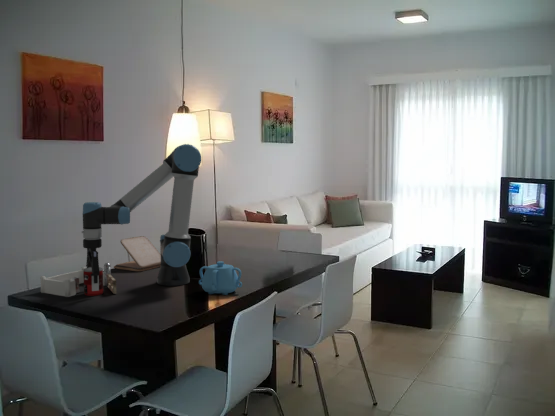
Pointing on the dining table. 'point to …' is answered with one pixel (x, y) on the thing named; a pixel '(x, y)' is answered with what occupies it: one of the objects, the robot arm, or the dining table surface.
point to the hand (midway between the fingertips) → (92, 287)
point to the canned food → (88, 282)
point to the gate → (111, 283)
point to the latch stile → (76, 283)
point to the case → (140, 255)
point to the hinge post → (106, 272)
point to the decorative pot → (220, 278)
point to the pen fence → (62, 283)
